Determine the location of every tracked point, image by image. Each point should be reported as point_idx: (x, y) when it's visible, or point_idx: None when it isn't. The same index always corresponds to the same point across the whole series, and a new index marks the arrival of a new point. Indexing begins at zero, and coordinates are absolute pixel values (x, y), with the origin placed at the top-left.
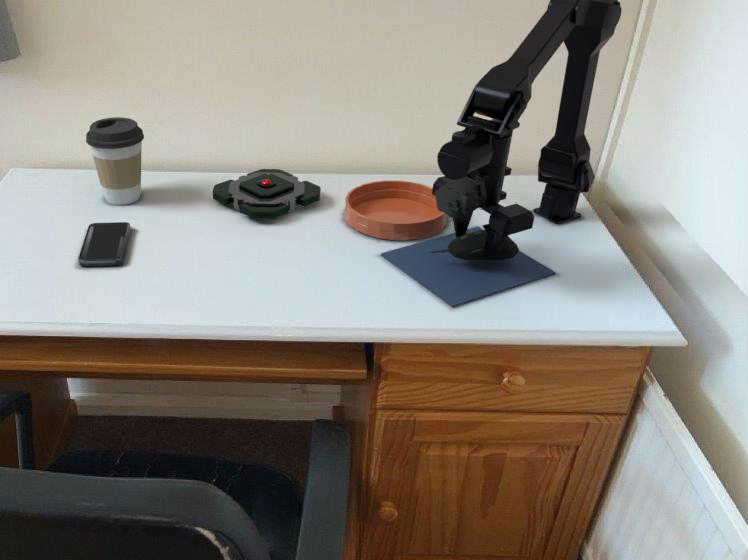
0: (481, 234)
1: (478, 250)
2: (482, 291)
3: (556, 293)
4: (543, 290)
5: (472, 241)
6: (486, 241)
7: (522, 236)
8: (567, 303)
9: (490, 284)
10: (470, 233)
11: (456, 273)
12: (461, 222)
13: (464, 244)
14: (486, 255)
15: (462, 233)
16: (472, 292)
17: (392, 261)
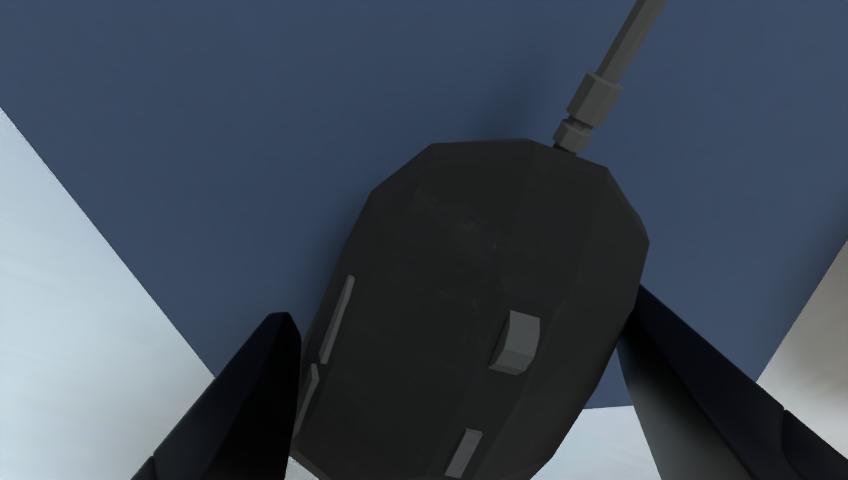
0: (423, 462)
1: (330, 330)
2: (56, 112)
3: (103, 380)
4: (130, 359)
5: (418, 364)
6: (193, 467)
7: (565, 452)
8: (14, 376)
9: (164, 202)
10: (543, 405)
11: (365, 75)
12: (700, 458)
13: (447, 294)
14: (249, 338)
15: (632, 357)
16: (27, 31)
17: None
